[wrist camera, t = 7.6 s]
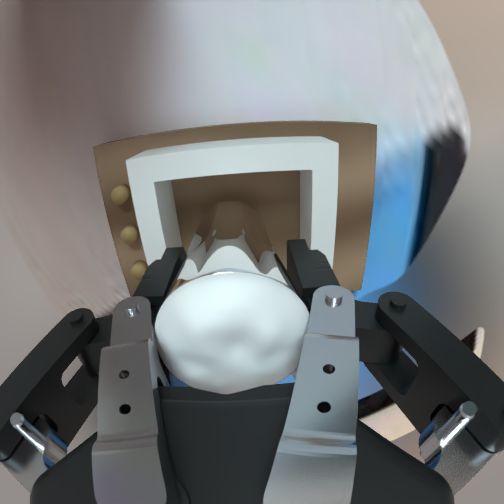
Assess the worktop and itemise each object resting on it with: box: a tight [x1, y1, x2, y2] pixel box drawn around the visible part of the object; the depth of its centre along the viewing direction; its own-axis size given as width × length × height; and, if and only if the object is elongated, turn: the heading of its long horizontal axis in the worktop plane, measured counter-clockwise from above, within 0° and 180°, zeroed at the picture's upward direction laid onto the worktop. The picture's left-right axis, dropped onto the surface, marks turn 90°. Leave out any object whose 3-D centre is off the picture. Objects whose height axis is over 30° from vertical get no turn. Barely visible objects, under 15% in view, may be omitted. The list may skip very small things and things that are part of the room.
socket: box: [126, 136, 339, 269], centre depth 15 cm, size 9×9×3 cm
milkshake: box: [154, 201, 310, 394], centre depth 11 cm, size 4×5×10 cm
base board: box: [93, 121, 377, 297], centre depth 16 cm, size 11×16×2 cm
